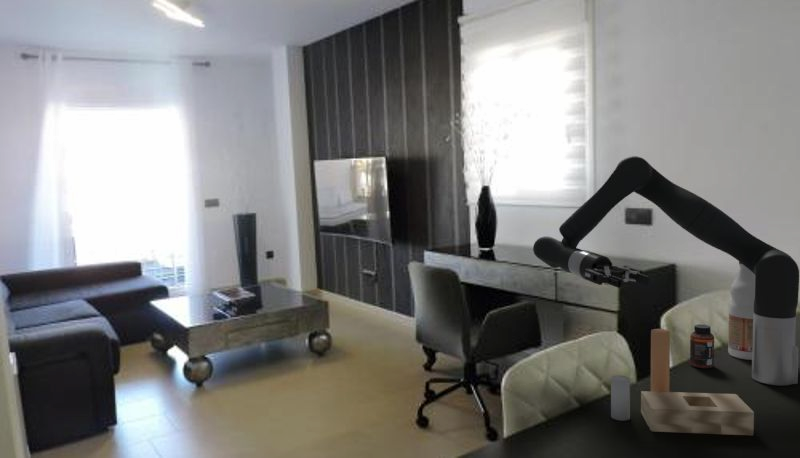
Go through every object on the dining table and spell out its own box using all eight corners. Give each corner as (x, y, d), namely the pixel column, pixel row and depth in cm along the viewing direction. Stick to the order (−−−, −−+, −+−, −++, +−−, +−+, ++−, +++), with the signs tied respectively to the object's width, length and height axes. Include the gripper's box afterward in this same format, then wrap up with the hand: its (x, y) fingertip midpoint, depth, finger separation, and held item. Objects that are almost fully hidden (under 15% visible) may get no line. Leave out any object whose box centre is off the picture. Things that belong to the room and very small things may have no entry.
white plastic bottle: (723, 356, 174) (725, 260, 171) (734, 348, 181) (736, 256, 178) (759, 363, 167) (762, 263, 164) (769, 354, 174) (772, 259, 171)
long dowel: (666, 403, 142) (667, 328, 140) (671, 409, 138) (671, 333, 136) (648, 402, 143) (649, 328, 141) (652, 409, 139) (653, 333, 137)
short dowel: (628, 413, 137) (628, 375, 136) (631, 420, 133) (631, 381, 132) (609, 412, 138) (609, 375, 137) (612, 420, 134) (612, 381, 133)
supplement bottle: (716, 369, 163) (717, 329, 162) (693, 369, 164) (693, 328, 163) (710, 362, 169) (710, 323, 168) (687, 361, 170) (687, 322, 169)
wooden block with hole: (735, 415, 134) (736, 394, 134) (753, 435, 124) (754, 412, 124) (640, 412, 138) (641, 391, 137) (651, 431, 128) (651, 408, 127)
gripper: (569, 254, 156) (615, 269, 142) (611, 251, 162) (659, 265, 147) (566, 281, 158) (611, 300, 143) (608, 277, 163) (655, 295, 149)
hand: (635, 282), depth 145 cm, fingers open, 8 cm apart
